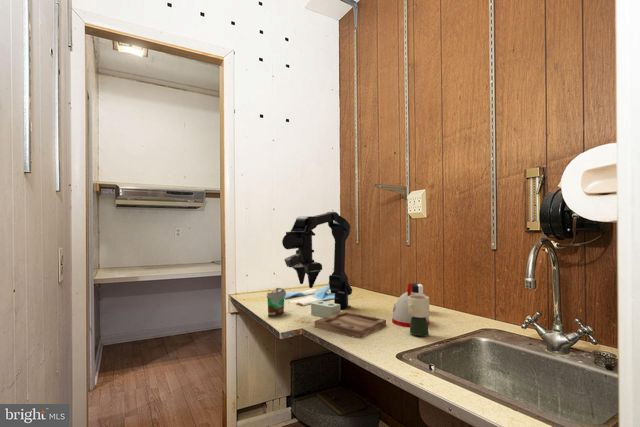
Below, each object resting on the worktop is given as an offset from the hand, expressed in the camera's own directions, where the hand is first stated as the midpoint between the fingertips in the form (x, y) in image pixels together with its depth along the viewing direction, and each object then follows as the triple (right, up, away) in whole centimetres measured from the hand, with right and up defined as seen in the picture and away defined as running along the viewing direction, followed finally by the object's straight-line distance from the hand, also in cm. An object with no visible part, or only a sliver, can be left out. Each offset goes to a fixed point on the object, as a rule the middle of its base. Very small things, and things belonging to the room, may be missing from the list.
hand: (306, 285), depth 138 cm
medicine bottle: (+47, -14, +10) cm, 50 cm away
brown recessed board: (+17, -13, -10) cm, 24 cm away
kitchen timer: (+41, -13, -6) cm, 43 cm away
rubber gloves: (0, -15, +42) cm, 45 cm away
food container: (-12, -14, +8) cm, 20 cm away
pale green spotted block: (+8, -14, +5) cm, 17 cm away
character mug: (+40, -13, -20) cm, 47 cm away
